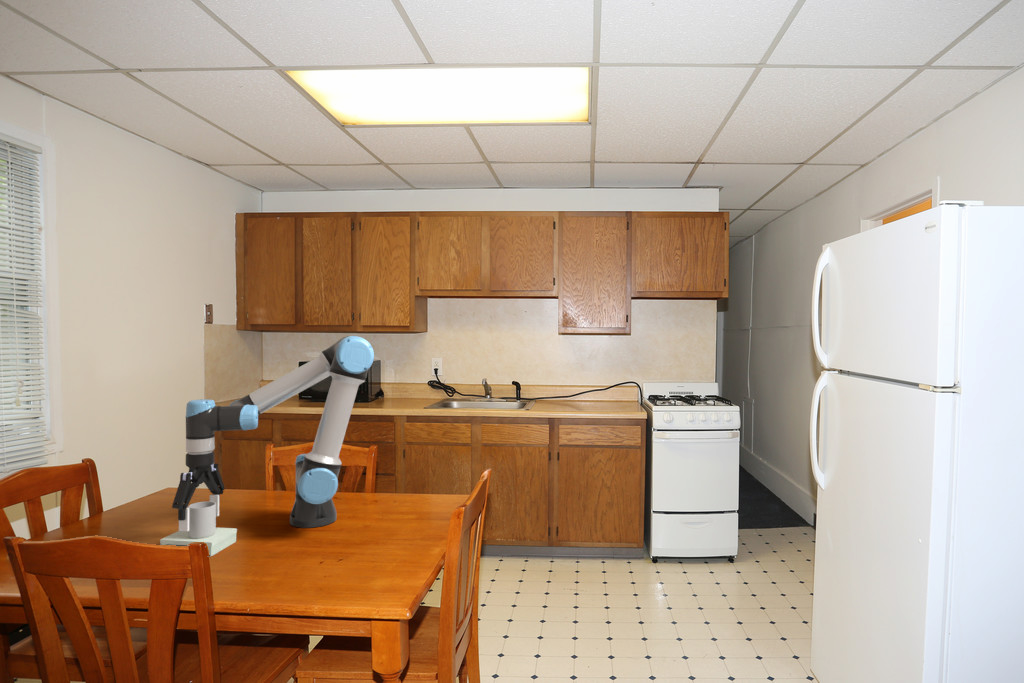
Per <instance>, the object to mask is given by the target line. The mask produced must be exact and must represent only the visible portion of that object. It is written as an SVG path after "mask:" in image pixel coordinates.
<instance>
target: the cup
mask: <svg viewBox="0 0 1024 683" xmlns="http://www.w3.org/2000/svg"><path fill="white" fill-rule="evenodd" d="M187 508H189V531H188V536H189V537H190V538H192V539H202V538H207V537H210V536H212V535H214V534H215V532H216V526H217V516H216V503H215V502H211V501H210V500H208V501H207V500H206V501H205V500H204V501H200V502H199V501H198V502H195V503H191V504H188V507H187Z"/></svg>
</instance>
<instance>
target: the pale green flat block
mask: <svg viewBox="0 0 1024 683" xmlns="http://www.w3.org/2000/svg"><path fill="white" fill-rule="evenodd" d="M237 532H238V528H233V527H216V532H215V534H214V535H212V536H210V537H207V538H202V539H192V538H190V537H189V536H188V531H179V530H177V531H176V532H173V533H171V534H169V535H166V536H164V537H163V538H161V539H160V540H159V542H160V543H159V544H160V546H161V545H176V546H180V547H182V546H189V545H188V544H190V543H193V542H204V543H206V544H207V546H208V550H209V555H210V556H209V557H212V556H215V555H216V554H218V553H220V552H221V551H222V550H225V549H226V548H228V547H230V546H231V545H233V544H235V543H236V542H237Z"/></svg>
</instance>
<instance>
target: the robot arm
mask: <svg viewBox="0 0 1024 683" xmlns="http://www.w3.org/2000/svg"><path fill="white" fill-rule="evenodd" d="M374 351H375V350H374V348H373V346H372V345H371V343H370V342H369V341H368V340H367V339H365V338H364V337H360V336H356V335H350V336H344V337H341V338H340V339H338V340H337V341H335V342H334V343H333V344H332V345H330V346H329V347H328V348H326V349H325V350H322V351H320V353H319V356H318V357H316V358H313V359H312V360H310V361H308V362H306V363H304V364H303V365H301V366H299V367H297V368H295V369H293V370H292V371H289V372H288V373H286V374H283V375H282V376H280V377H278V378H276V379H275V380H273V381H271V382H269V383H267V384H265V385H264V386H262V387H260V388H258V389H256V390H254V391H252V392H251V393H248V394H247V395H245V396H243V397H241V398H239V399H236V400H234V401H232V402H231V403H229V405H216V402H215V400H213V399H211V398H210V399H209V398H208V399H206V398H205V399H204V398H203V399H192V400H190V401H188V402H187V403H186V406H185V407H186V409H185V410H186V411H185V452H187V453H186V454H185V466H186V467H188V472H181V473H180V476H179V484H178V486H177V490H176V493H175V495H174V498H173V503H172V506H171V508H172V509H175V510H177V513H178V514H177V515H178V516H177V520H178V531H189V508H188V506H189V505H190V502H191V500H192V498H193V496H194V494H195V492H196V490H197V488H198V487H199V486H200V485H202V484H203V483H204V485H205V486H206V488H208V491H209V492H210V493H211V494H209V501H211V502H215V503H216V518H217V517H219V516H220V501H221V500H220V499H221V498H220V495H223V494H224V491H225V484H224V481H223V479H222V476H221V473H220V471H219V470H220V469H219V464H218V463H215V452H214V450H215V448H216V446H215V445H216V442H215V440H216V439H215V438H216V437H215V432H220V431H221V432H222V431H223V432H224V431H225V432H226V431H248V430H255V429H257V428H258V425H259V416H260V415H261V414H263V413H265V412H266V411H269V410H270V409H272V408H274V407H275V406H278V405H279V404H281V403H283V402H285V401H287V400H288V399H290V398H292V397H294V396H296V395H298V394H300V393H301V392H304V391H305V390H307V389H309V388H311V387H313V386H315V385H316V384H317V383H320V382H322V381H323V380H325V379H326V378H329V377H330V376H331V383H330V385H329V386H330V387H329V390H328V393H327V396H326V400H325V402H324V403H325V404H324V407H323V411H322V414H321V418H320V421H319V424H318V428H317V431H316V435H315V437H314V438H315V439H314V440H313V441H314V442H313V445H312V449H311V451H310V452H308V453H301V454H299V455H297V456H296V458H295V462H294V465H295V498H294V499H295V500H294V503H293V505H292V506H293V507H292V509H291V512H290V516H289V524H290V525H291V526H293V527H295V528H303V529H304V528H306V529H307V528H317V527H322V526H328V525H331V524H333V523H334V522H336V521H337V509H336V507H335V504H334V501H333V497H334V496H335V495H336V493H337V491H338V487H339V480H338V478H339V476H340V471H341V467H342V465H343V464H342V461H341V458H340V452H341V450H342V447H343V443H344V440H345V436H346V433H347V432H346V431H347V429H348V426H349V425H348V424H349V422H350V418H351V415H352V411H353V407H354V404H355V400H356V397H357V393H358V390H359V386H360V385H362V384H363V383H365V382H366V379H367V376H368V372H369V369H370V368H371V366H372V365H373V362H374V359H375V352H374Z"/></svg>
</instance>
